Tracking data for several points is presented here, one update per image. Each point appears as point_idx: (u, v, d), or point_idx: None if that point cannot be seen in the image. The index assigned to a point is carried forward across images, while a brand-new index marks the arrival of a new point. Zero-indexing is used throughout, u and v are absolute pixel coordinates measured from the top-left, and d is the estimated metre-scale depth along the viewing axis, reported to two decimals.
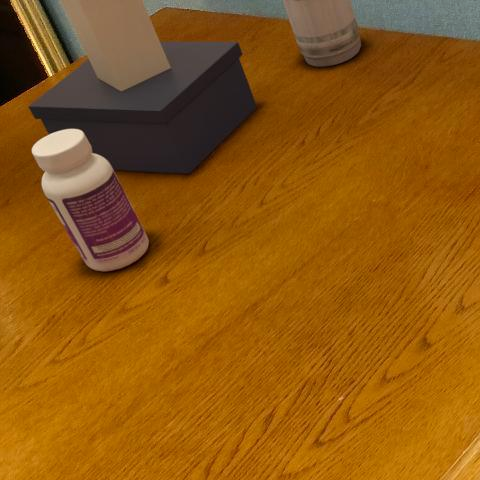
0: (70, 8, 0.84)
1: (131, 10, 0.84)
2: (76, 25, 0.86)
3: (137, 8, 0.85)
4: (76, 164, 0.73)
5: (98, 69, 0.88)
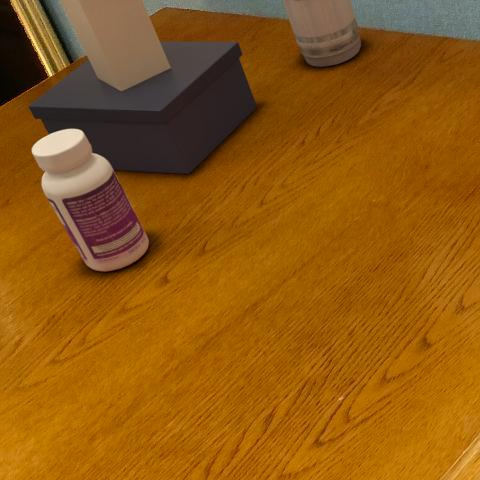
0: (70, 8, 0.84)
1: (131, 10, 0.84)
2: (76, 25, 0.86)
3: (137, 8, 0.85)
4: (76, 164, 0.73)
5: (98, 69, 0.88)
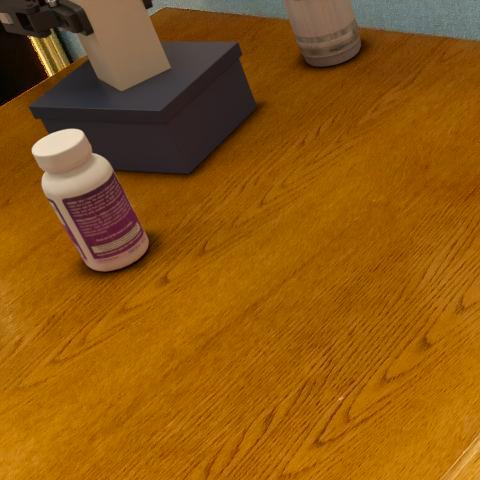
0: None
1: (132, 10, 0.84)
2: None
3: (137, 8, 0.85)
4: (76, 164, 0.73)
5: (98, 69, 0.88)
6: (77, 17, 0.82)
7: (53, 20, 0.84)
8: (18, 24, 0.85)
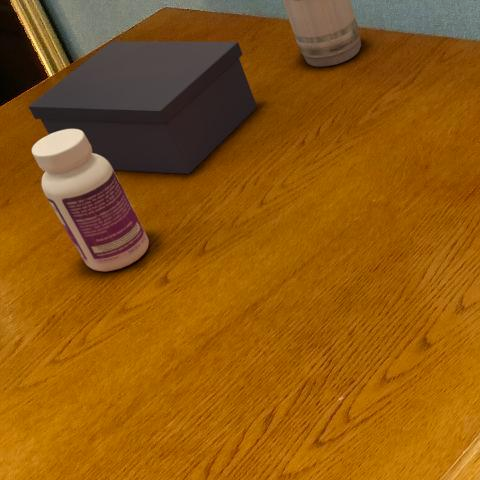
0: None
1: None
2: None
3: None
4: (76, 164, 0.73)
5: None
6: None
7: None
8: None
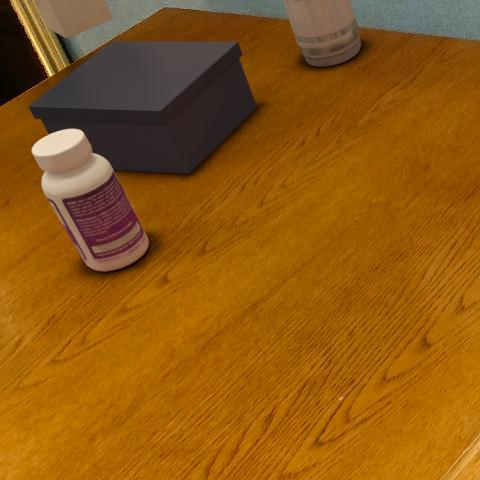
0: None
1: None
2: None
3: None
4: (76, 164, 0.73)
5: (47, 19, 0.97)
6: None
7: None
8: None
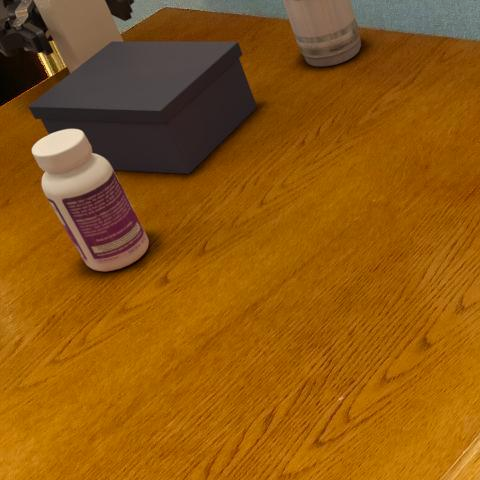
0: (55, 33, 0.98)
1: (107, 34, 0.98)
2: (60, 47, 1.00)
3: (112, 33, 0.99)
4: (76, 164, 0.73)
5: None
6: (38, 39, 0.95)
7: (18, 41, 0.98)
8: None
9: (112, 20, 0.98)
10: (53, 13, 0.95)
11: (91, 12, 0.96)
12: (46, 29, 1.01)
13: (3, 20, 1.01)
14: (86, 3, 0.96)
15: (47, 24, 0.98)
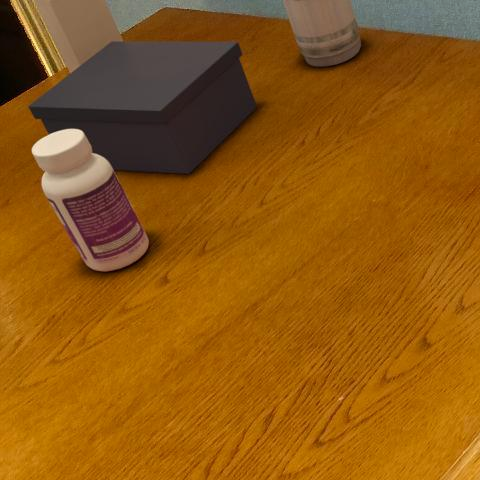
0: (55, 33, 0.98)
1: (107, 34, 0.98)
2: (60, 47, 1.00)
3: (112, 33, 0.99)
4: (76, 164, 0.73)
5: None
6: None
7: None
8: None
9: (112, 20, 0.98)
10: (53, 13, 0.95)
11: (91, 12, 0.96)
12: None
13: None
14: (86, 3, 0.96)
15: (47, 24, 0.98)
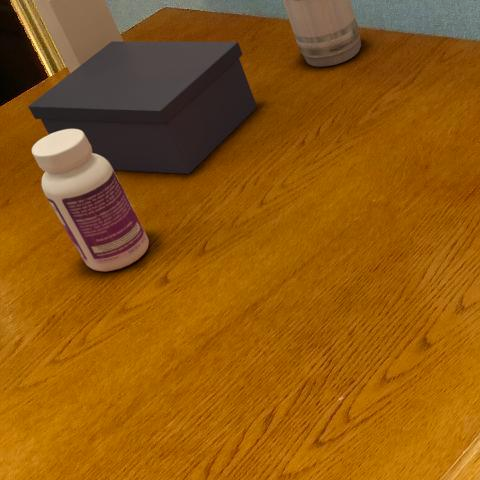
0: (55, 33, 0.98)
1: (107, 34, 0.98)
2: (60, 47, 1.00)
3: (112, 33, 0.99)
4: (76, 164, 0.73)
5: None
6: None
7: None
8: None
9: (112, 20, 0.98)
10: (53, 13, 0.95)
11: (91, 12, 0.96)
12: None
13: None
14: (86, 3, 0.96)
15: (47, 24, 0.98)
